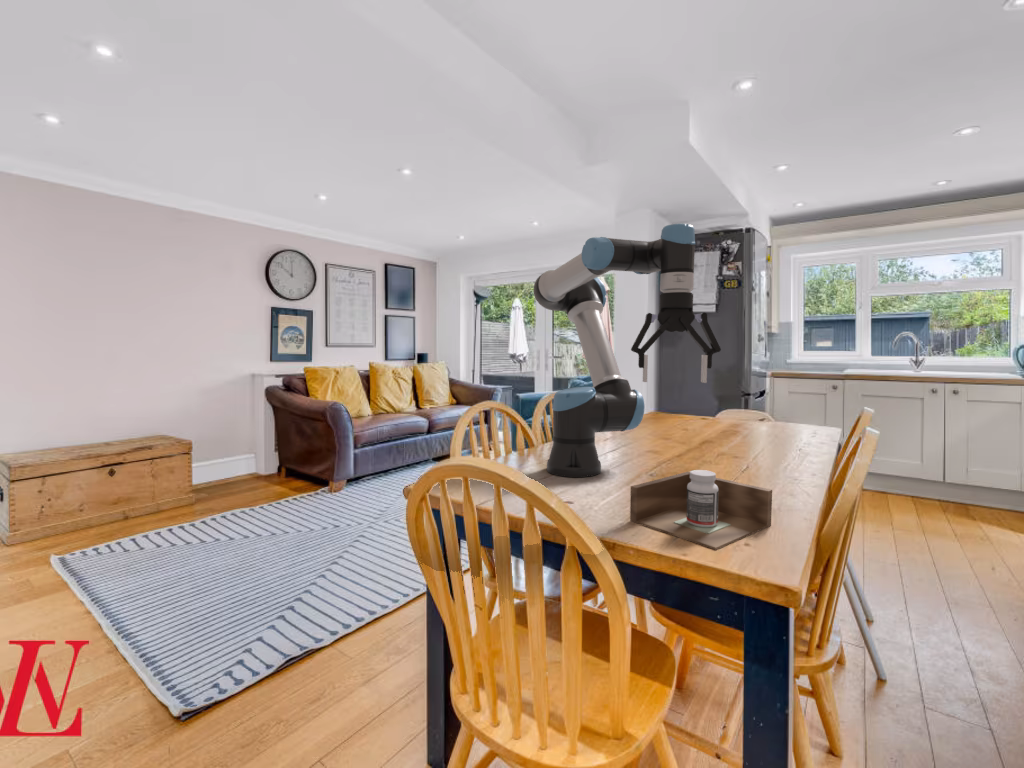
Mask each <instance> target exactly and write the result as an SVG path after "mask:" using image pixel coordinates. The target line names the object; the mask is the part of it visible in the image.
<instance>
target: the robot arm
mask: <svg viewBox="0 0 1024 768" xmlns="http://www.w3.org/2000/svg"><path fill="white" fill-rule="evenodd" d="M695 233H696V231H695V227H694V225H692V224H688V223H672V224H668V225H665V226H664V227H663V228H662V229H661V234H660V239H659V238H658V239H656V240H653V241H648V240H647V241H646V240H631V239H622V238H611V237H607V236H606V237H604V236H600V237H597V236H595V237H590V238H588V239H587V240H586V241H585V244H583V245H582V246H583V247H582V248H581V249H582V250H581V252H580V253H579V254H577V255H576V256H575V257H573V258H571V259H570V260H568V261H567V262H565V263H564V264H562V265H560V266H559V267H557V268H556V269H551V270H547V271H545V272H543V273H541V274H540V275H539V276H538V277H537V278H536V280H535V282H534V285H533V290H532V291H533V296H534V298H535V300H536V302H537V303H538V304H539V305H540V306H541V307H542V308H544V309H547V310H550V311H555V312H556V311H557V312H566V315H567V316H566V317H567V318H568V320H569V321H570V322H571V323H573V324H574V325H575V329H576V333H577V335H578V336H577V337H578V340H579V343H580V345H581V348H582V349H581V350H582V353H583V356H584V358H585V363H586V365H587V369H588V372H589V375H590V379H591V382H592V385H593V386H579V387H578V386H576V387H575V386H574V387H569V388H564V389H560V390H558V391H557V392H555V393H554V394H553V400H552V401H553V402H552V407H551V408H552V434H553V435H552V437H553V438H552V446H551V450H550V454H549V458H548V459H547V461H546V470H547V472H548V473H549V474H552V475H555V476H559V477H568V478H586V477H593V476H596V475H600V474H601V472H602V463H601V460H599V453H598V451H597V447H596V433H606V432H607V433H609V432H611V433H612V432H625V431H628V430H630V431H631V430H634V429H636V428H638V426H640V424H641V423H642V421H643V419H644V414H645V410H646V409H645V405H646V404H645V400H644V396H643V395H642V392H640V391H639V390H637V389H632V388H631V385H630V382H629V380H628V379H627V378H624V377H622V374H621V372H620V369H619V366H618V362H617V359H616V357H615V353H614V350H613V348H612V345H611V342H610V339H609V335H608V332H607V330H606V327H605V323H604V320H603V317H602V312H603V311H604V308H605V306H606V302H607V297H606V296H607V289H606V286H605V284H604V283H603V281H602V280H601V279H600V278H599V277H600V276H602V275H604V274H606V273H608V272H611V271H619V272H633V273H634V274H637V275H650V274H652V273H657V272H660V273H659V274H660V277H659V278H660V279H659V291H660V293H661V292H662V293H661V294H659V309H658V310H659V311H658V314H657V313H655V314H654V313H651V312H647V313H646V315H645V318H644V323H643V325H642V327H641V329H640V331H639V333H638V335H637V337H636V338H635V341H634V342H633V344H632V346H631V347H630V350H631V351H632V352H633V353H636V354H637V355H638V364H637V365H638V368H639V369H642V382H643V383H648V357H649V355H648V354H645V353H646V352H647V351H648V350H649V349H650V348H651V346H653V344H654V343H656V341H657V340H658V339H659V337H660V336H662V334H664V332H665V331H666V333H667V332H668V333H674V332H675V333H676V332H677V333H683V332H686V333H687V334H688V335H689V336H690V337H691V338H692V340H693V341H694V342H695V343H696V344H697V346H699V348H700V349H701V350H702V351H703V353H704V354H701V360H700V361H701V364H700V365H701V366H700V383H702V384H703V383H704V384H708V383H707V382H708V369H712V366H713V355H714V354H716V353H720V352H721V350H722V349H721V346H720V345H719V342H718V340H717V339H716V336H715V334H714V332H713V330H712V328H711V326H710V323H709V322H708V313H707V312H701V313H694V293H692V291H693V290H694V280H695V278H694V277H695V275H694V274H695V273H694V272H695V250H696V245H697V244H696V234H695ZM656 320H657V321H658V322H659V323H660V326H659V327H658V328H657V330H655V332H654V333H653V334H652V335H651V336H650V337H649V338H648V340H647V341H646V342H645V343H644V344H643V345H642V346H641V348H640V345H641V343H642V341H643V340H644V338H645V336H646V334H647V332H648V330H649V328H650V327H651V324H652V323H654V322H655V321H656ZM695 320H696V322H697V323H699V324H700V327H701V328H702V331H703V333H704V334H705V337H706V339H707V341H708V343H709V345H710V346H709V345H708V344H707V343H706V342H705V341H704V339H703V337H701V336H700V334H699V333H698V332H697V331H696V330H695V328H694V327H693V326H692V323H693V322H694V321H695Z"/></svg>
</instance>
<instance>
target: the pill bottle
mask: <svg viewBox="0 0 1024 768" xmlns="http://www.w3.org/2000/svg"><path fill="white" fill-rule="evenodd" d="M689 472H690V479H691V482H690V483H689V484H688V485H687V521H688V523H690V524H692V525H694V526H698V527H714V526H716V525H717V523H718V486H717V485H716V484H714V481H715V480H716V478H717V473H715V471H714V472H713V471H711V470H706V469H695V470H693V469H692V470H690V471H689Z"/></svg>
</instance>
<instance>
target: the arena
mask: <svg viewBox="0 0 1024 768" xmlns="http://www.w3.org/2000/svg"><path fill="white" fill-rule="evenodd" d="M690 482H691V479H690V471H685V472H681V473H678V474H673V475H669V476H666V477H663V478H662V477H661V478H658V479H653V480H651V481H646V482H643V483H639V484H635V485H631V486H630V505H629V506H630V509H629V510H630V511H629V512H630V514H629V518H630V519H629V521H630V522H633V523H636V524H639V525H641V526H645V527H648V528H650V529H653V530H656V531H659V532H662V533H666V534H667V535H671V536H674V537H677V538H680V539H683V540H685V541H689V542H692V543H695V544H696V545H697V544H698V545H701V546H703V547H706V548H709V549H712V550H719V549H721V548H724V547H726V546H727V545H731V544H734V543H735V542H737V541H739V540H741V539H744V538H746V537H749V536H750V535H752V534H755V533H757V532H759V531H761V530H763V529H764V530H765V529H766V528H768V527H771V526H772V509H773V489H770V488H765V487H760V486H756V485H750V484H747V483H743V482H738V481H732V480H728V479H723V478H720V477H716V480H715V481H714V484H716V485H717V486H718V523H717V525H716V526H714V527H698V526H694V525H692V524H690V523H688V521H687V485H688V484H689V483H690Z"/></svg>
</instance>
